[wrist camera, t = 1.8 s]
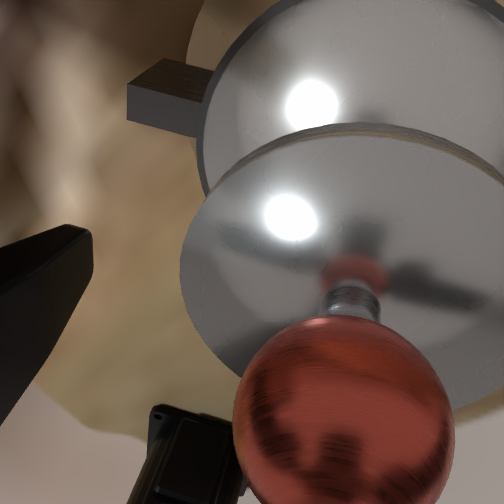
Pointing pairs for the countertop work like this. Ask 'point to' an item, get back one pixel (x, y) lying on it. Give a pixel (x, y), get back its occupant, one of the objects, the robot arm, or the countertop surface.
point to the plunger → (351, 307)
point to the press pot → (329, 74)
